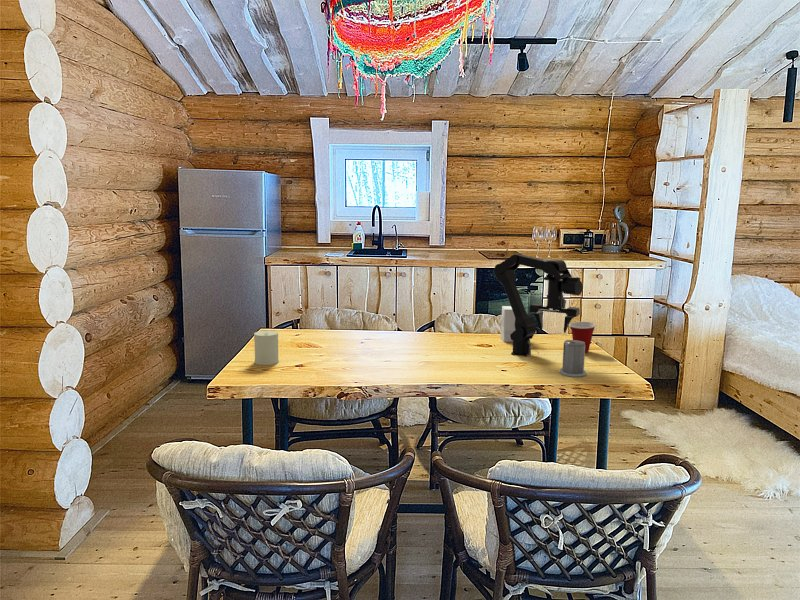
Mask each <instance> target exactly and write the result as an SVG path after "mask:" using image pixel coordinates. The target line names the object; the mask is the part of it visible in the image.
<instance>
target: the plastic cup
mask: <svg viewBox="0 0 800 600" xmlns="http://www.w3.org/2000/svg"><path fill="white" fill-rule="evenodd" d="M596 326H597V325H596V323H594V322H591V321H573V322H570V323H569V325H568V327H569V328H570V330H571V335H572V336H571V337H572V340H578V341H583V342H585V354H586V353H587V354H588V352H589V351H590V347H591V344H592V338H593V335H594V331H595V328H596Z"/></svg>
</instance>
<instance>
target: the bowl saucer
mask: <svg viewBox="0 0 800 600" xmlns="http://www.w3.org/2000/svg"><path fill="white" fill-rule="evenodd" d="M559 374H560V375H562V376H565V377H571V378H583V377H586V376H587V371H586V370H584V372H583V373H582V374H569V373H565V372H563V371H562V368H560V369H559Z"/></svg>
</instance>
